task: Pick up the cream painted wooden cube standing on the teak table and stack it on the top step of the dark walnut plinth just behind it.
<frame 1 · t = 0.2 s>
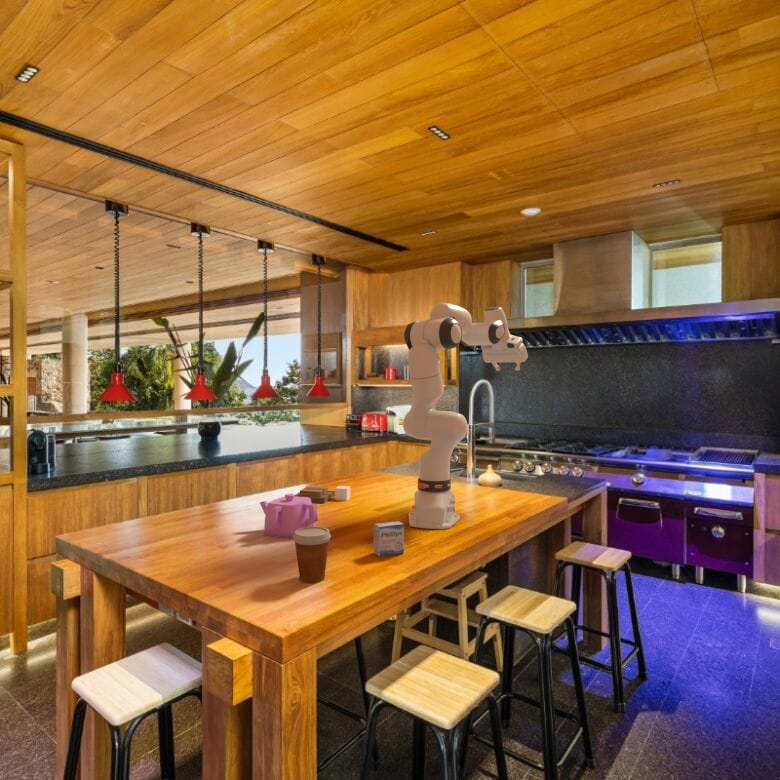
hand: (508, 370, 235), 54 cm above the table, tool tilted 30°, fingers open, 8 cm apart
disposable coffee cup: (312, 579, 135), on the table
medicine box: (388, 553, 154), on the table
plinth: (313, 498, 223), on the table
cream block: (342, 499, 223), on the table
teakettle: (289, 531, 176), on the table
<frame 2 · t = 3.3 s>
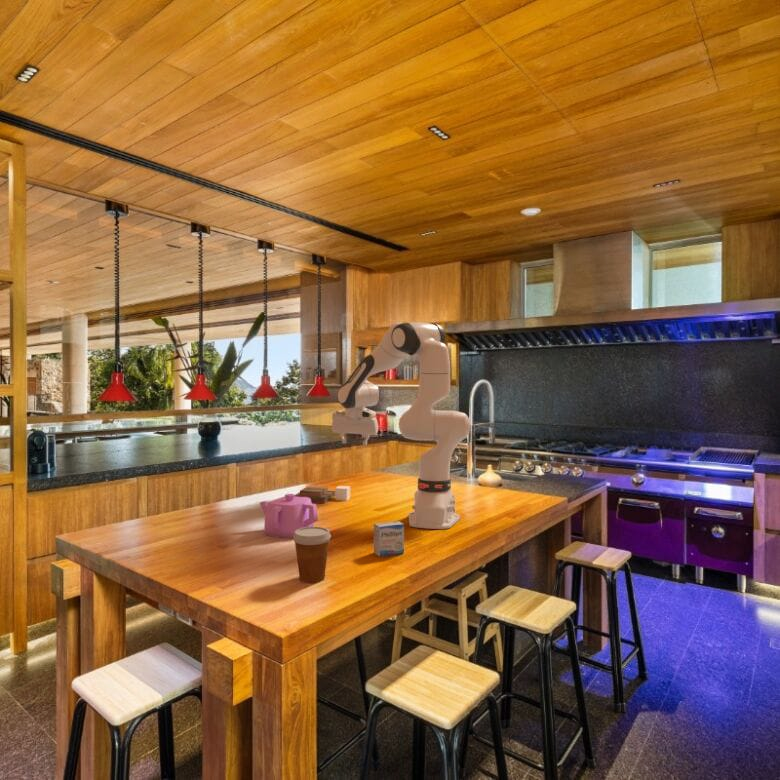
hand: (354, 443, 230), 22 cm above the table, tool pointing down, fingers open, 8 cm apart
nothing on the table moved.
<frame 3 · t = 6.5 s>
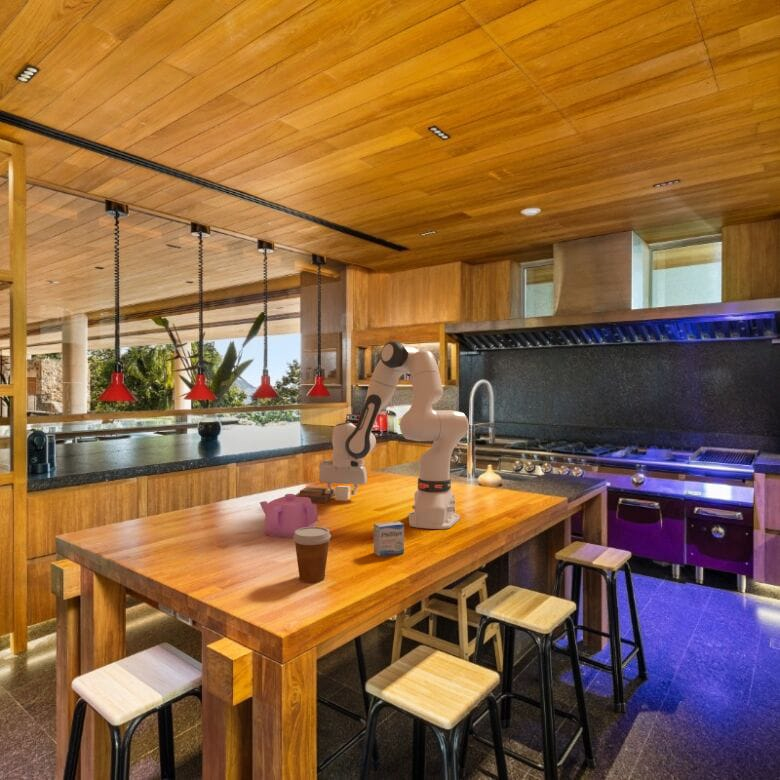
hand: (342, 493, 223), 2 cm above the table, tool pointing down, fingers open, 8 cm apart
nothing on the table moved.
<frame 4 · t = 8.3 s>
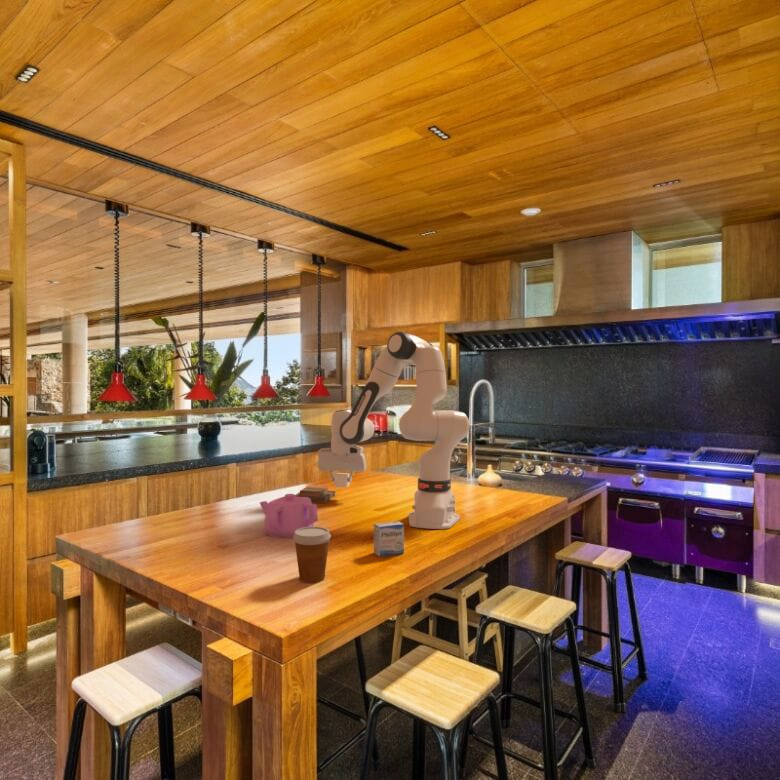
hand: (341, 481, 221), 8 cm above the table, tool pointing down, fingers closed on cream block, 5 cm apart
cream block: (341, 486, 221), point 6 cm above the table, touching gripper
everything else where it was.
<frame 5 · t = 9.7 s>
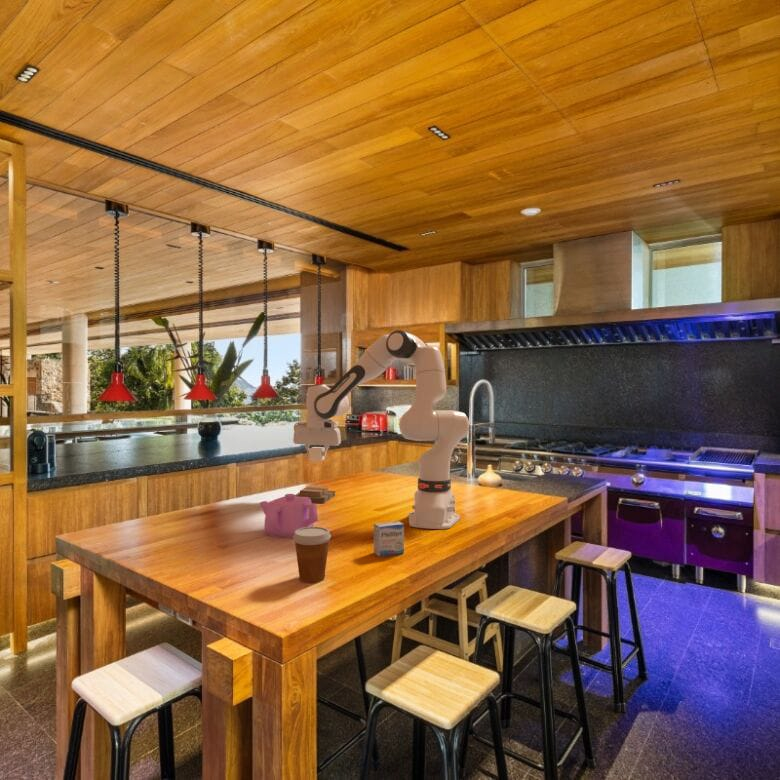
hand: (316, 455, 224), 18 cm above the table, tool pointing down, fingers closed on cream block, 5 cm apart
cream block: (316, 459, 224), point 16 cm above the table, touching gripper
everything else where it was.
when the fingers open (7 cm above the table, at t = 12.5 s): cream block drops 1 cm, resting on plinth.
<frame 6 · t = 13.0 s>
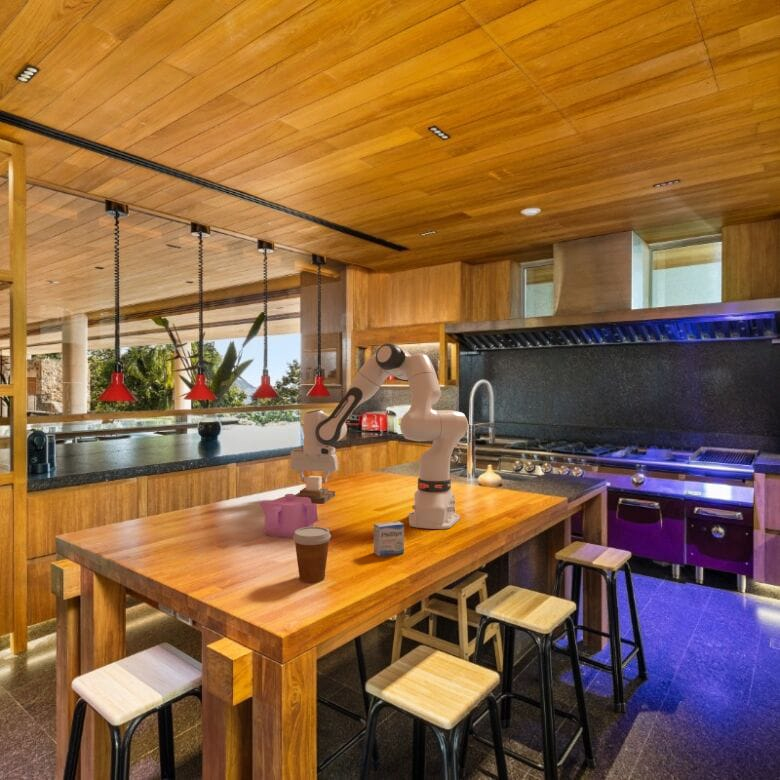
hand: (313, 481, 223), 7 cm above the table, tool pointing down, fingers open, 8 cm apart
cream block: (314, 489, 223), point 4 cm above the table, touching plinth
everything else where it was.
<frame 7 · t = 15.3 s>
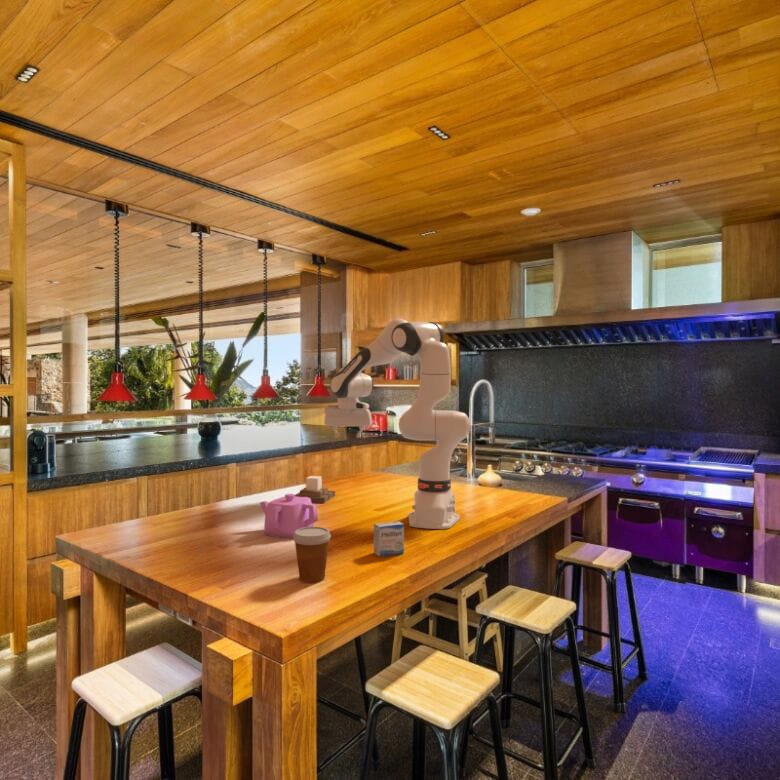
hand: (348, 437, 227), 25 cm above the table, tool pointing down, fingers open, 8 cm apart
nothing on the table moved.
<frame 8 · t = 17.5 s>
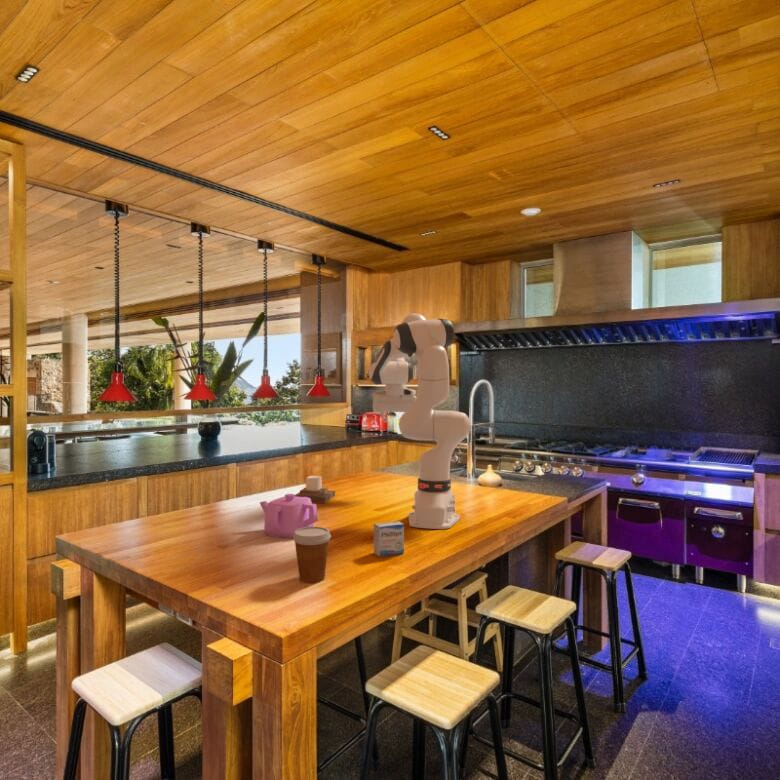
hand: (395, 422, 235), 31 cm above the table, tool pointing down, fingers open, 8 cm apart
nothing on the table moved.
at the end: cream block inside the target area on the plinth (0.1 cm from its centre), point 4.0 cm above the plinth's base; cream block tilted 0°; the gripper is holding nothing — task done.
